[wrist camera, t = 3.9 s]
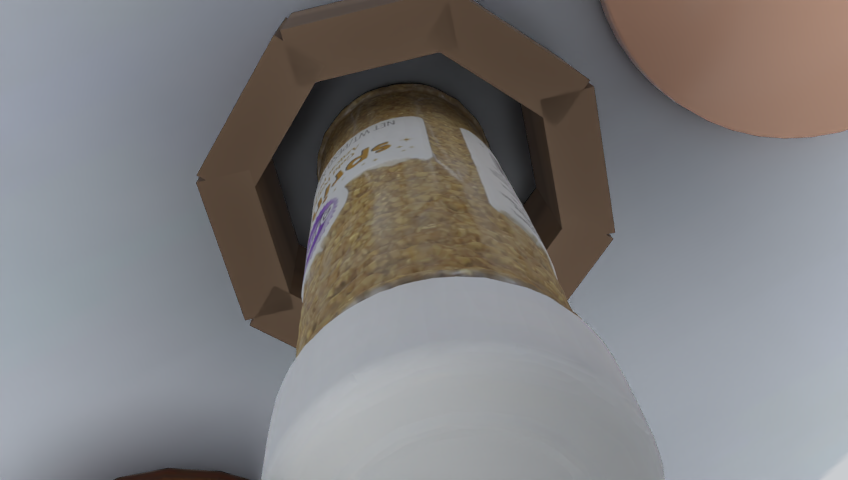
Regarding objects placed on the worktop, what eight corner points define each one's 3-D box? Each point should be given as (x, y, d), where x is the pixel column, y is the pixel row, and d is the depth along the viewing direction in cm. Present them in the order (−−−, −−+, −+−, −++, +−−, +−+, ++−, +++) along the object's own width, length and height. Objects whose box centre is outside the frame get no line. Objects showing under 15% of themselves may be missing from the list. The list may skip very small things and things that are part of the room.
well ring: (596, 279, 23) (629, 331, 20) (288, 352, 23) (278, 413, 20) (544, -49, 19) (575, -42, 16) (182, 39, 19) (153, 61, 17)
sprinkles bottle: (321, 73, 20) (254, 343, 8) (502, 88, 20) (723, 364, 8) (313, 244, 22) (249, 695, 9) (481, 254, 22) (635, 695, 10)
